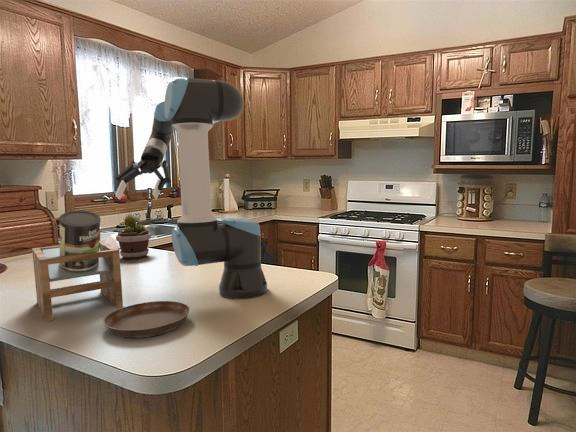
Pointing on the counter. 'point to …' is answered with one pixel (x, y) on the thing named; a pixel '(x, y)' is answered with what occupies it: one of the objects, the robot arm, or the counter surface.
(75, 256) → the wooden stand
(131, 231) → the flowerpot
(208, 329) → the counter surface
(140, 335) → the plant saucer
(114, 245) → the crystal
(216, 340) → the counter surface
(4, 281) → the counter surface
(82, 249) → the coffee can
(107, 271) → the lid
